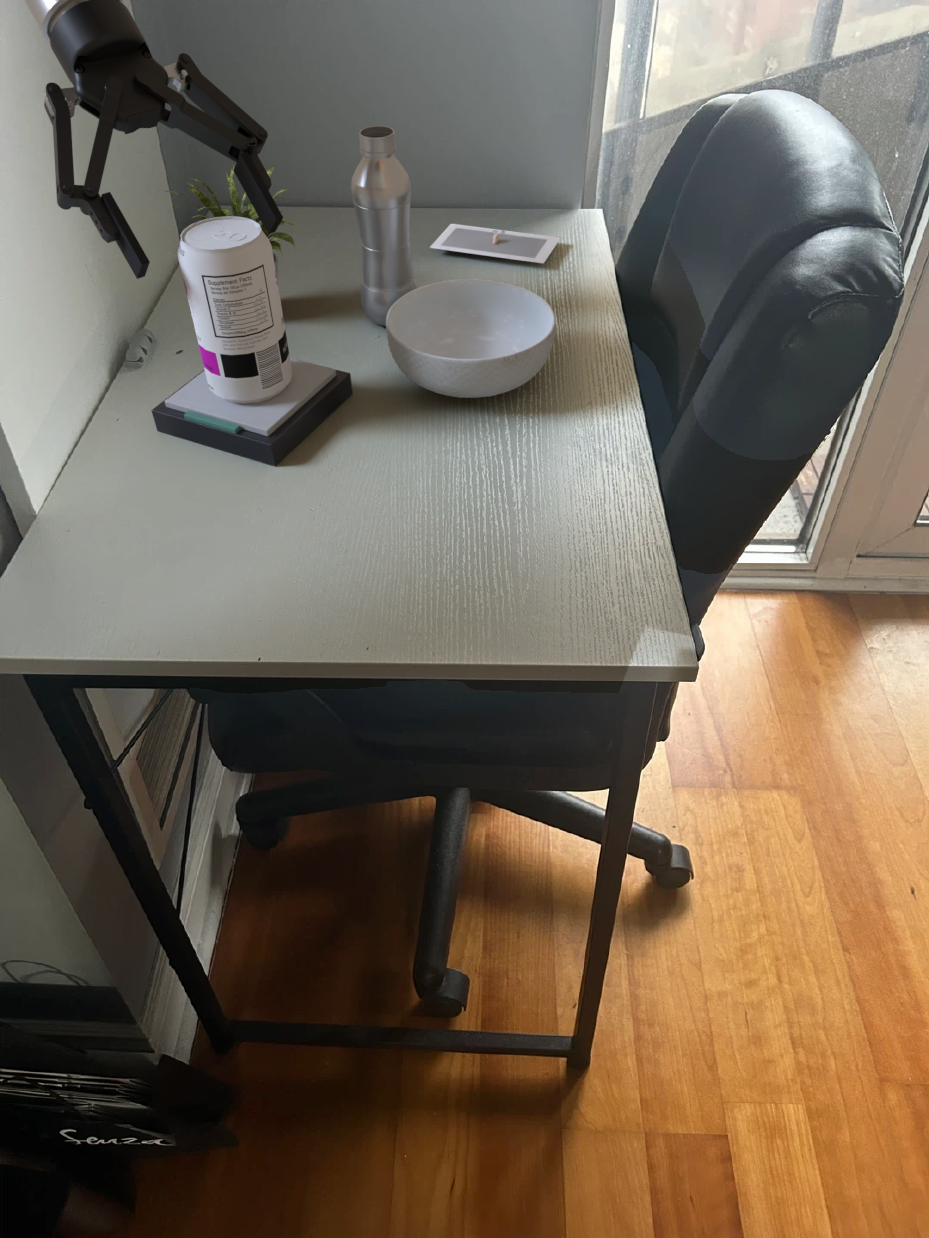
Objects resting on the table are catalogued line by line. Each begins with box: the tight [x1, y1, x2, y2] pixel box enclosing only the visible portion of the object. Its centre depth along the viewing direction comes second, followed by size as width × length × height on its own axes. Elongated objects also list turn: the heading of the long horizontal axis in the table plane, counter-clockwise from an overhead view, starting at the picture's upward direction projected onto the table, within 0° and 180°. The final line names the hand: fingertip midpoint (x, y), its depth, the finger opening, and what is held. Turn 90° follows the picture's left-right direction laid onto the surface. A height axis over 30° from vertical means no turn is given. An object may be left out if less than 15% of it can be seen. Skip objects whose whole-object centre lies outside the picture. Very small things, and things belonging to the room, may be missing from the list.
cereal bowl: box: [385, 278, 557, 399], centre depth 96 cm, size 17×17×7 cm
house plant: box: [159, 163, 296, 283], centre depth 103 cm, size 14×14×16 cm
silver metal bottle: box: [350, 125, 418, 327], centre depth 101 cm, size 6×7×20 cm
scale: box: [151, 357, 354, 467], centre depth 94 cm, size 14×14×3 cm
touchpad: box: [429, 223, 562, 265], centre depth 120 cm, size 8×15×2 cm, turn 70°
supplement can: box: [176, 215, 293, 404], centre depth 87 cm, size 8×8×15 cm
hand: (212, 248), depth 84 cm, fingers open, 13 cm apart
